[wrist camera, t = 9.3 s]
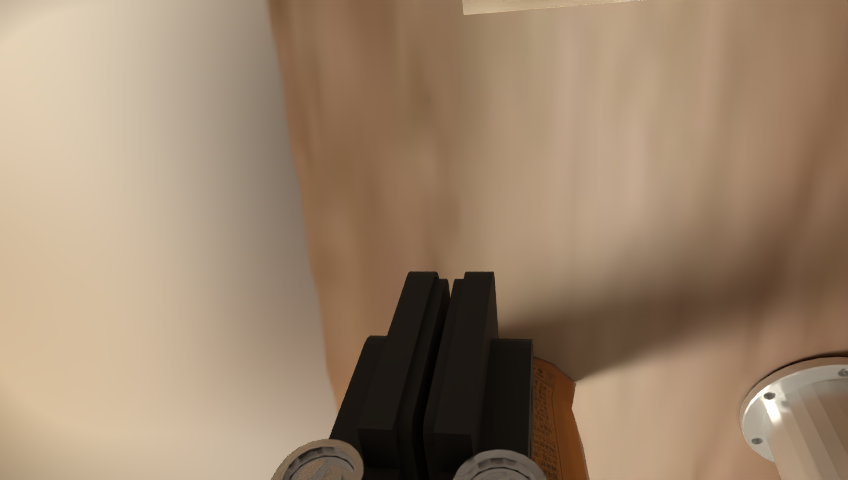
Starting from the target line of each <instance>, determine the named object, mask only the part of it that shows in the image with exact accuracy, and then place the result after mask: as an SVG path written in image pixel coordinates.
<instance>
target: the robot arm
mask: <svg viewBox="0 0 848 480" xmlns="http://www.w3.org/2000/svg"><path fill="white" fill-rule="evenodd" d="M533 411H534V374H533V343H532V339H499V336H498V321H497V306H496V291H495V277H494V272H465V275H464V279H455V280H454V284H453V288H452V293H451V298H450V291H449V283H448V280H447V279H439V276H438V273H437V272H409V273H408V275H407V278H406V281H405V284H404V287H403V290H402V293H401V296H400V299H399V302H398V305H397V308H396V311H395V314H394V317H393V320H392V323H391V326H390V329H389V332H388V335H387V336H369V337H368V338H367V340H366V342H365V344H364V347H363V349H362V352H361V355H360V357H359V360H358V362H357V365H356V368H355V370H354V373H353V376H352V378H351V381H350V384H349V386H348V389H347V392H346V394H345V397H344V400H343V402H342V405H341V408H340V410H339V413H338V416H337V418H336V421H335V424H334V426H333V429H332V432H331V435H330V437H329V439H322V440H317V441H312V442H310V443H307V444H305V445H303V446H301V447H299V448H297V449H296V450H295V451H293V452H292V453H291V454H289V455H288V456H287V457H286V458H285V460H284V461H283V462H282V463H281V464H280V466H279V467H278V468H277V470H276V472H275V473H274V475H273V477H272V478H271V480H547V479H546V477H545V474H544V473H543V471H542V470H541V469H540V468H539V466H538V465H537V464H536V463H535V462H533V461H532V452H533ZM739 421H740V426H741V430H742V432H743V435H744V437H745V440H746V442H747V443H748V444H749V446H750V447H751V448H752V449H753V450H754V451H755V452H757V453H758V454H759V455H760V456H762V457H764V458H766V459H768V460H769V461H771V462H774V463H775V464H776V466H777V469H778V471H779V474H780V477H781V479H782V480H848V357H829V358H818V359H813V360H808V361H803V362H800V363H797V364H794V365H790V366H787V367H785V368H783V369H781V370H779V371H777V372H775V373H773V374H771V375H770V376H768V377H767V378H765V379H764V380H762V381H761V382H759V383H758V384H757V385H756V386H755V387H754V388H753V389H752V390H751V391H750V392H749V394H748V395H747V397H746V398H745V399H744V401H743V404H742V406H741V409H740V415H739Z"/></svg>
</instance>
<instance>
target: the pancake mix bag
mask: <svg viewBox="0 0 848 480" xmlns="http://www.w3.org/2000/svg"><path fill="white" fill-rule="evenodd" d="M533 374H534V411H533V452H532V461H533V462H535V463H536V464H537V465H538V466H539V468H540V469H541V470H542V471H543V473H544V474H545V477H546V479H547V480H590V479H589V475H588V470H587V465H586V459H585V454H584V449H583V445H582V441H581V438H580V435H579V432H578V428H577V425H576V421H575V418H574V415H573V412H572V404H573V398H574V392H575V386H576V383H574V382H573V381H572V380H571V379H569V378H568V377H567V376H566V375H565V374H563V373H562V372H561V371H560V370H559V369H558V368H557V367H556V366H555V365H553V364H552V363H549V362H547V361H544V360H542V359H539V358H536V357H533Z"/></svg>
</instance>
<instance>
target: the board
mask: <svg viewBox="0 0 848 480" xmlns="http://www.w3.org/2000/svg"><path fill="white" fill-rule="evenodd" d="M625 1H637V0H463V12H464V15H469V14H481V13H493V12H505V11H517V10H529V9H541V8H553V7H565V6H577V5H589V4H601V3H613V2H625Z"/></svg>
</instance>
